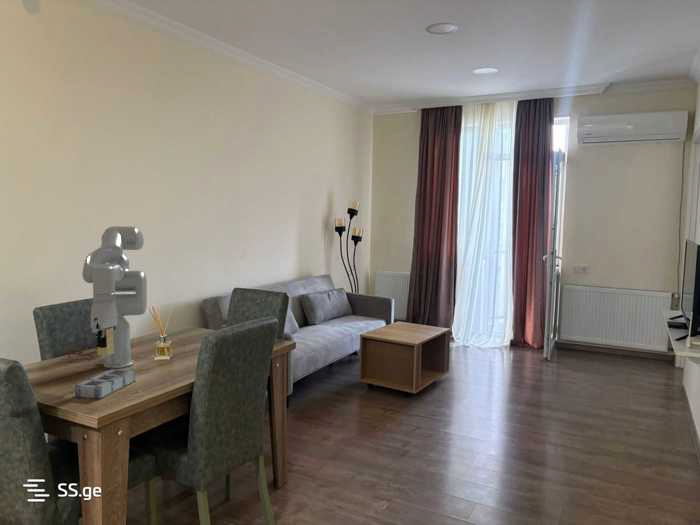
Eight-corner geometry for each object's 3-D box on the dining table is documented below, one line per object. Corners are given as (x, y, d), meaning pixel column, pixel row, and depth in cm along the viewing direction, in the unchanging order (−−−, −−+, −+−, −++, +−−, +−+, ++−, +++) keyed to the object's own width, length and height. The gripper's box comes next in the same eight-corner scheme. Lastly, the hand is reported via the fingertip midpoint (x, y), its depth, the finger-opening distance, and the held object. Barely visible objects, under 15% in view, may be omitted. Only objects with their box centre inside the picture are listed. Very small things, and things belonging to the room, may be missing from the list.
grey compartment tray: (75, 397, 191) (74, 385, 191) (113, 379, 213) (112, 368, 213) (99, 399, 190) (99, 387, 189) (135, 381, 211) (135, 370, 211)
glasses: (83, 352, 257) (82, 342, 257) (109, 353, 257) (109, 342, 256) (67, 359, 244) (67, 349, 244) (95, 360, 244) (95, 349, 243)
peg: (97, 355, 198) (96, 329, 198) (104, 352, 202) (103, 327, 201) (107, 355, 198) (106, 329, 197) (113, 353, 201) (113, 327, 201)
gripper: (109, 295, 207) (110, 341, 209) (80, 301, 191) (81, 350, 192) (126, 295, 206) (127, 341, 207) (98, 301, 189) (100, 351, 191)
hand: (105, 345), depth 200 cm, fingers closed on peg, 4 cm apart
